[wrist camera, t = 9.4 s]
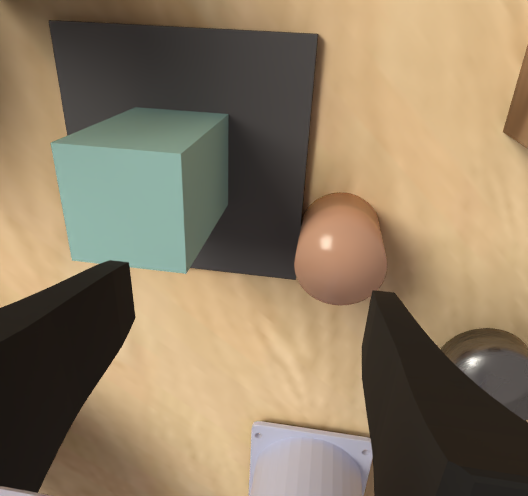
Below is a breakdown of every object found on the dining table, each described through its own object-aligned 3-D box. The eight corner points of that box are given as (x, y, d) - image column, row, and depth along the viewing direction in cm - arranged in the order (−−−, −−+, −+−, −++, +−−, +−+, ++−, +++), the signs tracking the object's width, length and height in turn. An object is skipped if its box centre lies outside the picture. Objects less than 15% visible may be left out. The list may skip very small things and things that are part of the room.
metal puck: (514, 399, 26) (530, 434, 24) (427, 388, 27) (435, 421, 24) (541, 332, 24) (561, 363, 22) (445, 322, 24) (456, 351, 22)
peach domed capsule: (372, 266, 23) (378, 310, 20) (298, 258, 24) (291, 299, 20) (385, 196, 22) (395, 230, 18) (304, 188, 22) (297, 220, 18)
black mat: (296, 275, 24) (295, 279, 24) (91, 251, 26) (87, 256, 25) (317, 33, 19) (317, 34, 18) (54, 20, 20) (48, 20, 20)
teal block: (228, 204, 22) (186, 273, 16) (143, 196, 23) (72, 260, 17) (228, 113, 20) (180, 153, 14) (135, 107, 21) (50, 142, 15)
